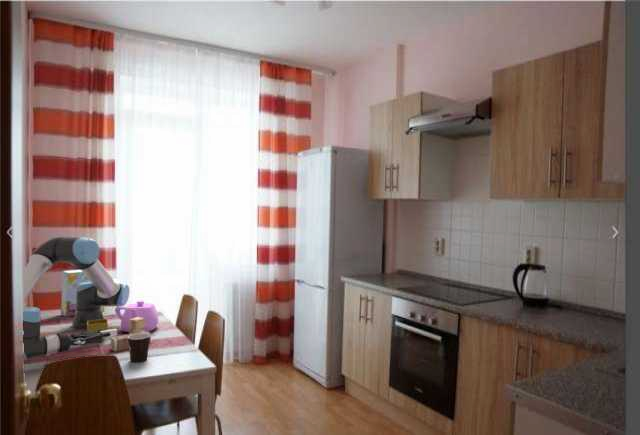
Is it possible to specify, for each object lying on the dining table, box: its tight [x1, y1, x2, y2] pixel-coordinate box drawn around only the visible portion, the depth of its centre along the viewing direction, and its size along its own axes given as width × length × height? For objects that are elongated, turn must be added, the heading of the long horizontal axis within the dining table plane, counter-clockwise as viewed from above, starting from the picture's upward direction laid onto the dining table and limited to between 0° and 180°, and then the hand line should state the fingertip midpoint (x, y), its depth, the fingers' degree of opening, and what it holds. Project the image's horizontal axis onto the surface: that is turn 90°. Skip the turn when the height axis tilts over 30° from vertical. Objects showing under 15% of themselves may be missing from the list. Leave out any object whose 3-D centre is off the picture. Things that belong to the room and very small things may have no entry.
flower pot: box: [86, 318, 109, 342], centre depth 202 cm, size 9×9×9 cm
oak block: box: [128, 317, 145, 334], centre depth 205 cm, size 5×5×10 cm
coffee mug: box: [128, 333, 151, 364], centre depth 176 cm, size 12×9×10 cm
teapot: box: [114, 300, 159, 334], centre depth 217 cm, size 23×21×15 cm
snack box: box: [60, 269, 105, 318], centre depth 251 cm, size 22×9×26 cm, turn 141°
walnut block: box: [110, 331, 152, 352], centre depth 195 cm, size 5×5×16 cm
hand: (116, 332), depth 189 cm, fingers closed
